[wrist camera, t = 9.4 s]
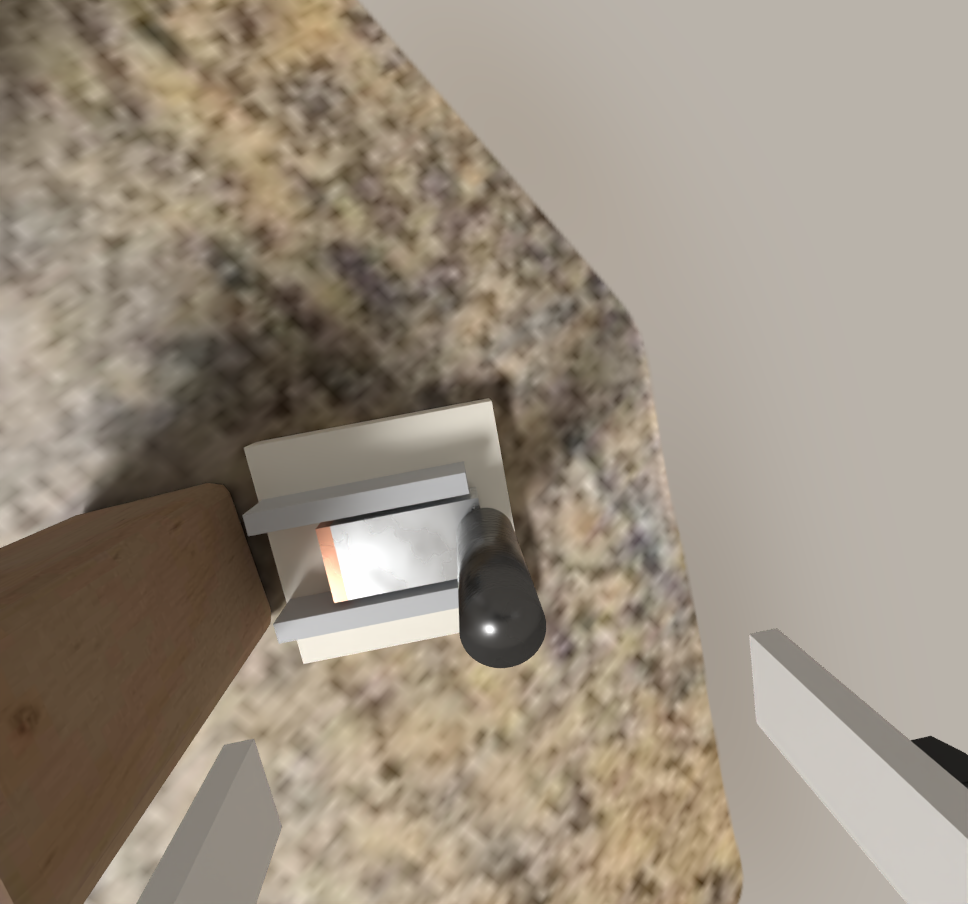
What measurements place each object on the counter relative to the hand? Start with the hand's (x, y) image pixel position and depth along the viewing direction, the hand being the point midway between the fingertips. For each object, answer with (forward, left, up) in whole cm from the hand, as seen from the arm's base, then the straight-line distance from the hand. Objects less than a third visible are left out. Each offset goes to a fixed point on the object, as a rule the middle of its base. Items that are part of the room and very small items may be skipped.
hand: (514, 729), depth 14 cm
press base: (0, -5, -20) cm, 21 cm away
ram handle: (0, -4, -18) cm, 18 cm away
